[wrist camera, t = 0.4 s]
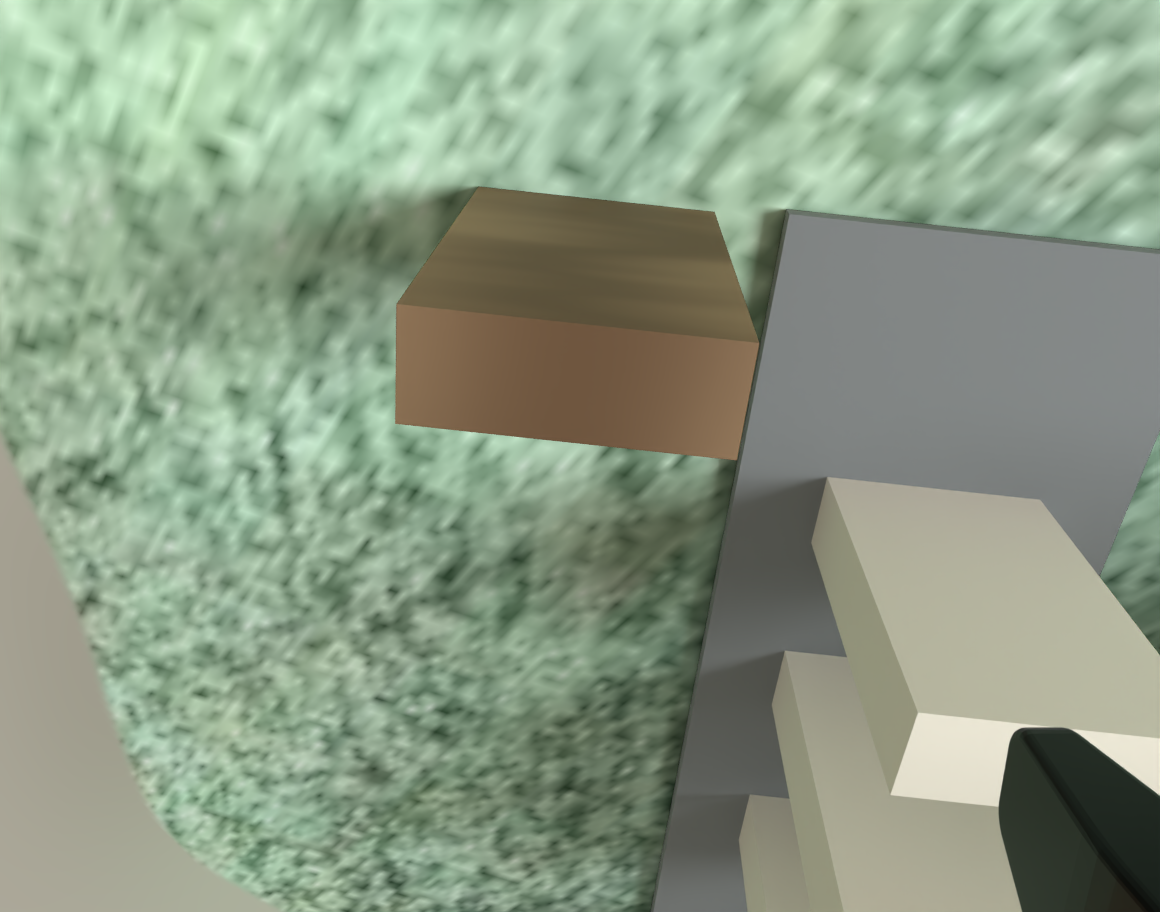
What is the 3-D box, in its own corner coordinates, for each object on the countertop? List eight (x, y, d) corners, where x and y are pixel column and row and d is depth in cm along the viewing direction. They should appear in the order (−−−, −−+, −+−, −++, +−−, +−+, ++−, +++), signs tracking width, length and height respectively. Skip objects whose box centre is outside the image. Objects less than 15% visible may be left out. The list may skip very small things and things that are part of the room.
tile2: (1039, 499, 20) (1229, 746, 13) (1016, 564, 20) (1186, 827, 14) (827, 476, 20) (917, 712, 13) (811, 542, 20) (890, 795, 14)
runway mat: (1217, 255, 18) (1229, 261, 17) (905, 1023, 28) (908, 1036, 28) (786, 209, 18) (789, 213, 17) (634, 994, 28) (634, 1007, 28)
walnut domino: (714, 211, 18) (759, 343, 12) (701, 295, 19) (736, 459, 12) (478, 186, 18) (396, 304, 12) (474, 270, 19) (395, 423, 12)
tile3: (977, 671, 22) (1117, 954, 16) (958, 724, 22) (1083, 1015, 16) (784, 650, 22) (847, 925, 15) (771, 704, 22) (825, 987, 16)
